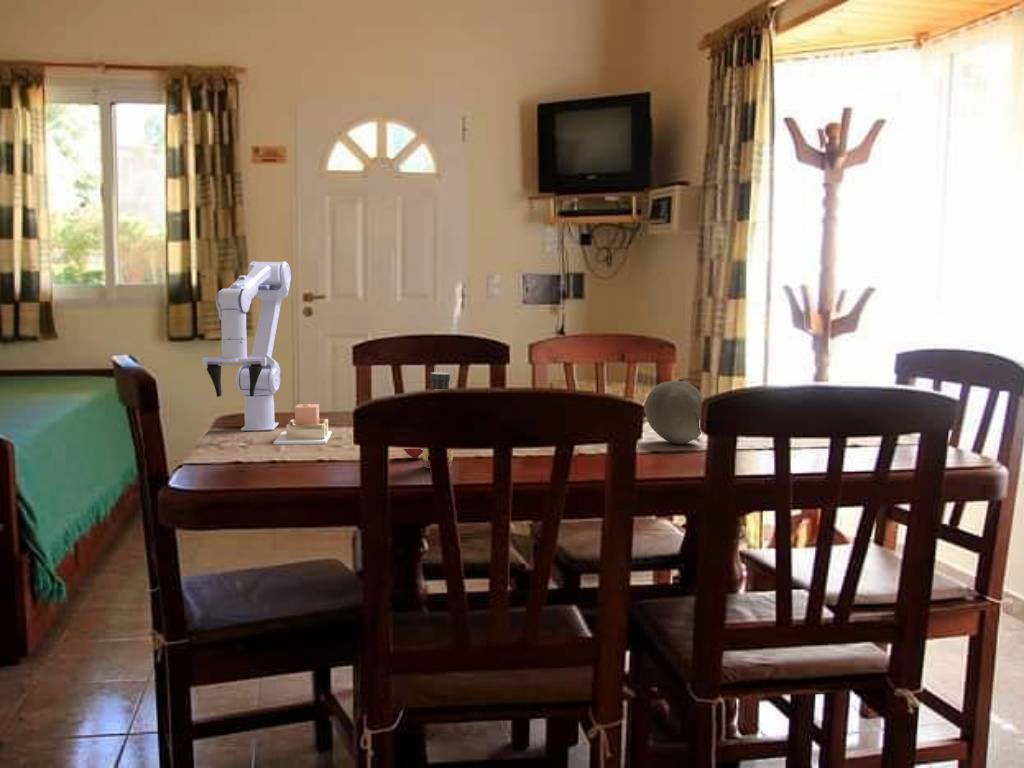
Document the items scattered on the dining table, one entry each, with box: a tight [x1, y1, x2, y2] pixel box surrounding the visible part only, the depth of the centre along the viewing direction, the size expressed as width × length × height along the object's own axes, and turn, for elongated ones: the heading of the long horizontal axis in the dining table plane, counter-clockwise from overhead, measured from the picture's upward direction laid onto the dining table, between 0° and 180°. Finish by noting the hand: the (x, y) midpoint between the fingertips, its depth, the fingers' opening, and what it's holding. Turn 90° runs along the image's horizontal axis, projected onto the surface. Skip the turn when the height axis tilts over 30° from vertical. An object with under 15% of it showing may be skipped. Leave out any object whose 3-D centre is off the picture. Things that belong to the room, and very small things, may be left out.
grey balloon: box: [644, 380, 705, 445], centre depth 226 cm, size 14×14×15 cm
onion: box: [403, 449, 423, 459], centre depth 208 cm, size 6×6×8 cm
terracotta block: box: [294, 403, 320, 425], centre depth 230 cm, size 5×5×5 cm
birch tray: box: [285, 418, 329, 440], centre depth 231 cm, size 9×9×3 cm
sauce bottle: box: [422, 371, 454, 469], centre depth 198 cm, size 7×6×20 cm
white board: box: [273, 430, 333, 445], centre depth 231 cm, size 14×12×1 cm
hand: (235, 396), depth 229 cm, fingers open, 7 cm apart
